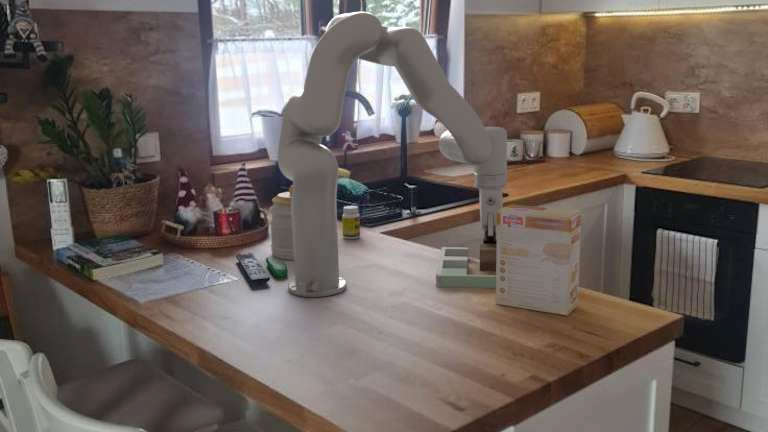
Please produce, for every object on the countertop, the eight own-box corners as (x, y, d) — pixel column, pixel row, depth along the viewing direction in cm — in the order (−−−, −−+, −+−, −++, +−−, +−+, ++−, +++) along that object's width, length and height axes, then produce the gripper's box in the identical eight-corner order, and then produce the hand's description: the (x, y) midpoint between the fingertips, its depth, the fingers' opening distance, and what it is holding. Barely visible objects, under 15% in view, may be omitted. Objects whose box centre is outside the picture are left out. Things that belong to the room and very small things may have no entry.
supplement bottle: (357, 239, 204) (357, 209, 202) (340, 239, 205) (339, 208, 203) (362, 235, 209) (361, 205, 207) (345, 234, 210) (344, 205, 208)
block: (501, 270, 174) (502, 249, 173) (479, 270, 175) (479, 249, 174) (500, 264, 179) (501, 244, 178) (479, 264, 180) (479, 243, 178)
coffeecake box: (578, 305, 151) (582, 209, 146) (567, 316, 145) (571, 217, 140) (507, 294, 158) (509, 202, 154) (494, 304, 152) (495, 209, 148)
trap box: (518, 288, 162) (518, 277, 161) (436, 286, 164) (436, 275, 163) (514, 258, 184) (514, 248, 183) (441, 256, 186) (441, 247, 186)
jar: (263, 259, 187) (259, 189, 183) (282, 245, 199) (279, 179, 195) (313, 262, 184) (310, 190, 180) (329, 248, 196) (327, 181, 192)
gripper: (507, 186, 169) (507, 265, 174) (505, 174, 184) (504, 247, 188) (474, 186, 170) (474, 264, 175) (474, 174, 185) (474, 247, 189)
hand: (489, 255), depth 181 cm, fingers closed
